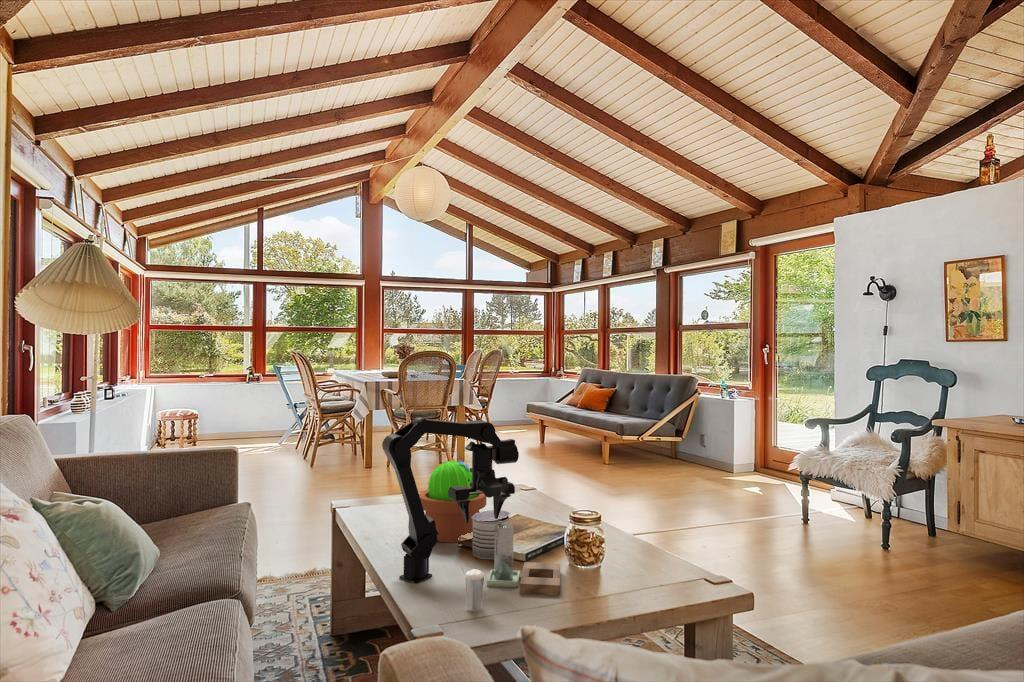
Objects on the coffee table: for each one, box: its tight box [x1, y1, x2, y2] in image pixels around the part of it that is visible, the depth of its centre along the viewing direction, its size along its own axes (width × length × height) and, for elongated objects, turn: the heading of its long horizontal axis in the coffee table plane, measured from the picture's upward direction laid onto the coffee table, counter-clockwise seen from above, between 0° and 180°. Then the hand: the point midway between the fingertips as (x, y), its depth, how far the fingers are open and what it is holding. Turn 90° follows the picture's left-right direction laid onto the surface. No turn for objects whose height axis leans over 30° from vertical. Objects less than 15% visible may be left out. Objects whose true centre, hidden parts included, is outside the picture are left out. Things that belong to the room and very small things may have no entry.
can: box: [471, 509, 511, 561], centre depth 191 cm, size 11×11×12 cm
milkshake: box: [461, 568, 485, 613], centre depth 150 cm, size 4×5×10 cm
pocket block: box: [519, 561, 561, 596], centre depth 167 cm, size 10×16×2 cm, turn 175°
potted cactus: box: [419, 459, 487, 544], centre depth 209 cm, size 22×22×25 cm
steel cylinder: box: [493, 523, 515, 581], centre depth 168 cm, size 5×5×14 cm
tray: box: [486, 569, 521, 588], centre depth 168 cm, size 8×8×2 cm
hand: (481, 520), depth 179 cm, fingers open, 9 cm apart
